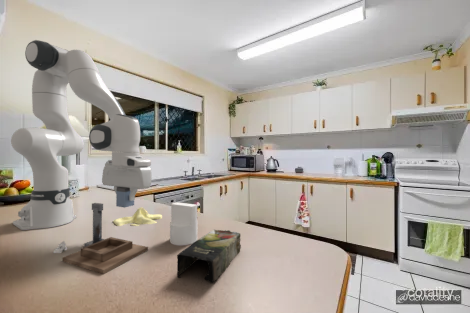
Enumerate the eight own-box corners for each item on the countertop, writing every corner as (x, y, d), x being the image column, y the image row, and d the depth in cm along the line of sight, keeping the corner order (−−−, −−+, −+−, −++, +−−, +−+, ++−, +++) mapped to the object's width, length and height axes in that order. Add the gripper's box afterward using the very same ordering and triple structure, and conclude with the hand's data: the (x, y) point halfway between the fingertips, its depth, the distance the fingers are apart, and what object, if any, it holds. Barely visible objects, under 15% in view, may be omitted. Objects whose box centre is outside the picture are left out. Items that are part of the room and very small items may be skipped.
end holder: (62, 261, 57) (62, 250, 57) (110, 241, 70) (110, 232, 70) (103, 274, 51) (103, 261, 51) (147, 250, 64) (148, 240, 64)
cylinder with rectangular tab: (202, 237, 74) (202, 203, 74) (186, 247, 66) (186, 208, 66) (181, 233, 78) (182, 200, 78) (164, 242, 70) (164, 205, 70)
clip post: (84, 246, 67) (84, 204, 67) (99, 240, 71) (99, 201, 71) (94, 248, 65) (95, 206, 65) (110, 242, 69) (110, 202, 69)
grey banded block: (116, 206, 75) (116, 187, 75) (126, 204, 78) (126, 186, 78) (124, 207, 73) (124, 188, 73) (134, 205, 77) (134, 187, 77)
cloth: (103, 226, 87) (103, 211, 87) (134, 214, 105) (134, 201, 105) (151, 231, 82) (151, 215, 82) (175, 217, 100) (175, 204, 100)
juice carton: (213, 244, 69) (213, 225, 69) (242, 249, 66) (242, 229, 66) (175, 279, 50) (175, 252, 50) (213, 288, 47) (214, 260, 46)
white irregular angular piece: (62, 254, 62) (62, 243, 62) (52, 255, 62) (52, 244, 62) (68, 249, 65) (68, 239, 65) (58, 250, 65) (58, 240, 65)
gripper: (97, 159, 77) (96, 198, 77) (140, 161, 69) (139, 204, 69) (113, 159, 83) (112, 195, 83) (154, 161, 75) (154, 200, 75)
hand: (125, 199), depth 76 cm, fingers closed on grey banded block, 4 cm apart
